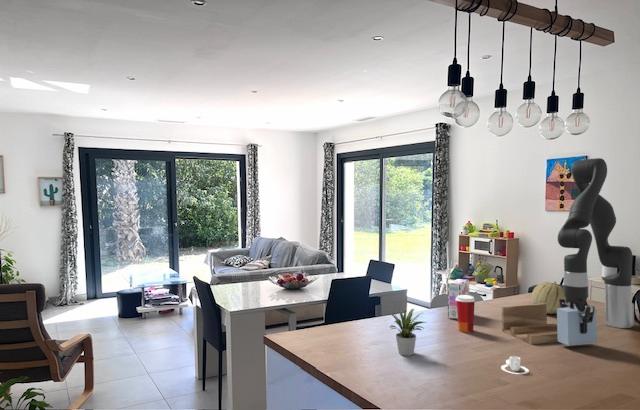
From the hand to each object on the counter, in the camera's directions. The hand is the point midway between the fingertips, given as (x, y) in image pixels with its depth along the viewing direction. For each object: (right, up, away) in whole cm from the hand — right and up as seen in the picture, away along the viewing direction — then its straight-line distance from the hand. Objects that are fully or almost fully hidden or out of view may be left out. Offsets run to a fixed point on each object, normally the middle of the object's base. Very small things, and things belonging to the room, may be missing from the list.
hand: (576, 330), depth 152 cm
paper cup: (-33, -6, +21) cm, 39 cm away
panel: (0, -4, 0) cm, 4 cm away
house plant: (-63, -7, -5) cm, 64 cm away
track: (-7, -6, +13) cm, 16 cm away
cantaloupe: (+15, -6, +46) cm, 49 cm away
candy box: (-28, -6, +43) cm, 52 cm away
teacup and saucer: (-29, -7, -19) cm, 35 cm away
